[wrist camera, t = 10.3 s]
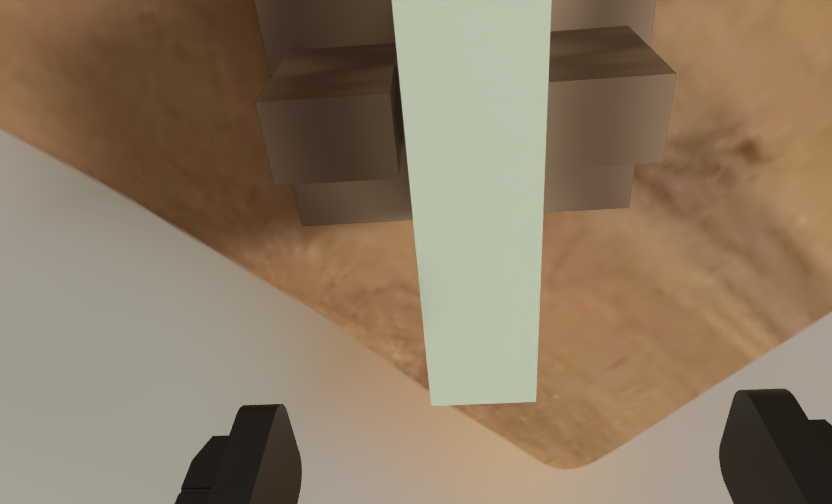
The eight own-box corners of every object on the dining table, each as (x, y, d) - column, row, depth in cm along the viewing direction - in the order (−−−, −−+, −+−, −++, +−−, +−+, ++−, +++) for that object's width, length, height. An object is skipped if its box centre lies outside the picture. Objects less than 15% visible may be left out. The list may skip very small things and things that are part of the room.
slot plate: (665, -134, 23) (744, -122, 17) (623, 197, 31) (668, 282, 25) (240, -97, 24) (180, -73, 18) (305, 215, 32) (277, 301, 26)
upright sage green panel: (495, -90, 23) (552, -19, 12) (498, 194, 30) (535, 401, 19) (409, -82, 23) (390, -7, 12) (430, 199, 30) (431, 405, 19)
